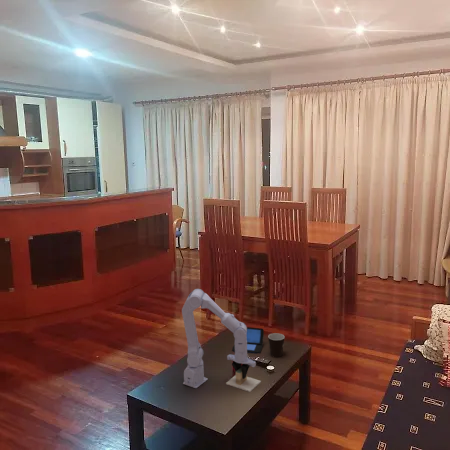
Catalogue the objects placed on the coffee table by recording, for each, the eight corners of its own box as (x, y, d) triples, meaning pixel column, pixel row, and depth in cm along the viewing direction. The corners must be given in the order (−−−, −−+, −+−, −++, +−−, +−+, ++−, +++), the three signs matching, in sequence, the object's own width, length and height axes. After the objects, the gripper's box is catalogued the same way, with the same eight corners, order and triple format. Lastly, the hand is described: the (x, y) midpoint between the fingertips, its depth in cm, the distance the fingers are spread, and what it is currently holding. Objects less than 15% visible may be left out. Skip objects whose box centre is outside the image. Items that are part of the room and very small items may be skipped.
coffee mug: (279, 359, 220) (279, 341, 218) (265, 355, 225) (265, 337, 223) (290, 351, 229) (290, 333, 227) (276, 347, 234) (276, 330, 232)
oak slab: (240, 385, 196) (240, 373, 195) (235, 383, 197) (235, 371, 196) (247, 379, 200) (246, 367, 199) (242, 377, 202) (242, 366, 201)
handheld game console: (231, 351, 231) (231, 335, 229) (237, 341, 243) (236, 326, 242) (260, 354, 227) (260, 338, 225) (264, 343, 240) (264, 328, 238)
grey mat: (250, 392, 191) (250, 390, 191) (226, 384, 198) (225, 382, 198) (261, 382, 199) (260, 380, 199) (237, 374, 206) (237, 373, 206)
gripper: (258, 350, 195) (259, 377, 198) (232, 343, 204) (233, 369, 206) (251, 356, 190) (251, 384, 192) (224, 348, 198) (225, 375, 200)
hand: (241, 377), depth 198 cm, fingers closed on oak slab, 2 cm apart
